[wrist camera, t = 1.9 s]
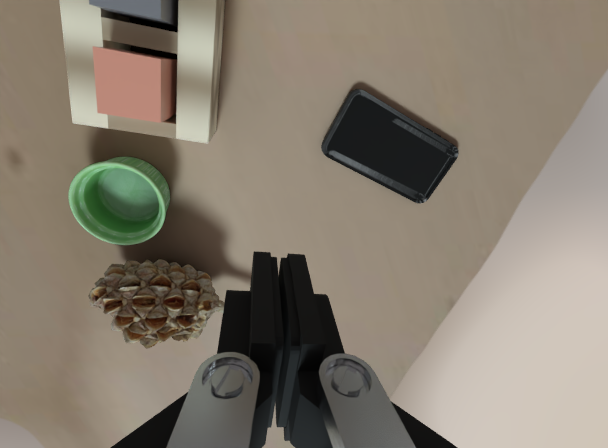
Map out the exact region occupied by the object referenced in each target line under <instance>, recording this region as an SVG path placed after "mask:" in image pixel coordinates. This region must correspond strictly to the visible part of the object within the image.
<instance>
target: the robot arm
mask: <svg viewBox="0 0 608 448" xmlns="http://www.w3.org/2000/svg"><path fill="white" fill-rule="evenodd" d="M275 404H276V424H277V427H284V440H285V441H290V443H291V444H292V445H293V446H294V447H295V448H457V447H456V446H454V445H453V444H452V443H450V442H449V441H447V440H446V439H444V438H443V437H442V436H440V435H438V434H437V433H436V432H434V431H433V430H431V429H430V428H429V427H427V426H426V425H424V424H423V423H421V422H420V421H418V420H417V419H416V418H414V417H413V416H411V415H410V414H408V413H407V412H405V411H404V410H403V409H401V408H400V407H398V406H397V405H395V404H394V403H392V402H391V401H390V399H389V397H388V396H387V394H386V392H385V390H384V388H383V386H382V385H381V383H380V381H379V379H378V377H377V375H376V374H375V372H374V371H373V369H372V368H371V367H370V366H369V365H368V364H367V363H366V362H365V361H363V360H362V359H360V358H358V357H356V356H353V355H349V354H345V353H344V349H343V346H342V342H341V339H340V336H339V332H338V329H337V325H336V322H335V319H334V315H333V312H332V308H331V305H330V302H329V298H328V296H327V295H326V294H314V292H313V288H312V284H311V279H310V275H309V271H308V267H307V262H306V258H305V255H300V254H288V255H287V258H281V262H280V270H279V277H278V267H277V257H271V253H269V252H254V255H253V265H252V276H251V287H250V291H234V290H227V291H226V298H225V304H224V311H223V318H222V324H221V331H220V338H219V345H218V351H217V354H216V355H214V356H212V357H210V358H208V359H207V360H206V361H204V362H203V363H202V364H201V365H200V367H199V368H198V370H197V372H196V374H195V376H194V379H193V382H192V384H191V387H190V389H189V392H187V393H186V394H185V395H183V396H182V397H180V398H179V399H178V400H176V401H175V402H173V403H172V404H171V405H169V406H168V407H166V408H165V409H164V410H162V411H161V412H160V413H158V414H157V415H155V416H154V417H153V418H151V419H150V420H148V421H147V422H146V423H144V424H143V425H141V426H140V427H139V428H137V429H136V430H135V431H133V432H132V433H130V434H129V435H128V436H126V437H125V438H123V439H122V440H121V441H119V442H118V443H116V444H115V445H114V446H112V447H111V448H262V447H263V446H264V444H265V441H266V435H267V428H268V427H271V425H272V419H273V412H274V406H275Z"/></svg>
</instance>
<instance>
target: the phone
mask: <svg viewBox="0 0 608 448" xmlns="http://www.w3.org/2000/svg"><path fill="white" fill-rule="evenodd" d="M321 148H322V151H323V153H324V154H325V156H327V157H328V158H330V159H332V160H334V161H336V162H338V163H340V164H342V165H344V166H346V167H348V168H350V169H351V170H353V171H355V172H357V173H359V174H361V175H363V176H365V177H367V178H369V179H371V180H373V181H375V182H377V183H379V184H381V185H383V186H384V187H386V188H388V189H390V190H392V191H394V192H396V193H398V194H400V195H402V196H404V197H406V198H408V199H410V200H412V201H414V202H416V203H424V202H425V201H427V200H428V199H429V197H430V196H431V194H432V193H433V192H434V190H435V189H436V187H437V186H438V185H439V183H440V182H441V180H442V179H443V177H444V176H445V175H446V173H447V172H448V170H449V169H450V168H451V166H452V165H453V163H454V162H455V160H456V159H457V157H458V149H457V147H456V146H454V145H453V144H451V143H449V142H448V141H447V140H445V139H443V138H441V136H439V135H437V134H436V133H433V131H431V130H430V129H428V128H425V127H423V126H421V125H420V124H418V123H416V122H415V121H413V120H412V119H410V118H408V117H407V116H405V115H403V114H402V113H400V112H398V111H397V110H395V109H393V108H392V107H390V106H389V105H387V104H385V103H384V102H382V101H380V100H379V99H377V98H375V97H374V96H372V95H370V94H369V93H367V92H366V91H363V90H360V89H355V90H353V91H351V92H350V93H349V94H348V96H347V98H346V100H345V101H344V103H343V105H342V107H341V109H340V111H339V113H338V114H337V116H336V118H335V120H334V122H333V124H332V125H331V127H330V129H329V131H328V133H327V135H326V137H325V138H324V140H323V142H322V147H321Z"/></svg>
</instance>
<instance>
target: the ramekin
mask: <svg viewBox="0 0 608 448" xmlns="http://www.w3.org/2000/svg"><path fill="white" fill-rule="evenodd" d="M169 203H170V191H169V187H168V184H167V182H166V180H165V178H164V177H163V176H162V174H161V173H160V172H159V171H158V170H157V169H156V168H155V167H153V166H152V165H150V164H149V163H147V162H145V161H143V160H140V159H137V158H133V157H116V158H113V159H109V160H106V161H103V162H98V163H94V164H91V165H89V166H87V167H85V168H84V169H82V170H81V171H80V172H79V173H78V174H77V175H76V176H75V177H74V179H73V180H72V182H71V185H70V188H69V204H70V207H71V210H72V213H73V215H74V216H75V218H76V220H77V221H78V222H79V224H80V225H81V226H82V227H83V228H84V229H85V230H86V231H88V232H89V233H90V234H92V235H93V236H95V237H97V238H98V239H101V240H103V241H106V242H109V243H112V244H117V245H134V244H138V243H142V242H144V241H146V240H149V239H150V238H152V237H153V236H154V235H155V234H157V233H158V231H159V230H160V229H161V227H162V225H163V223H164V220H165V217H166V211H167V209H168V206H169Z"/></svg>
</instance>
